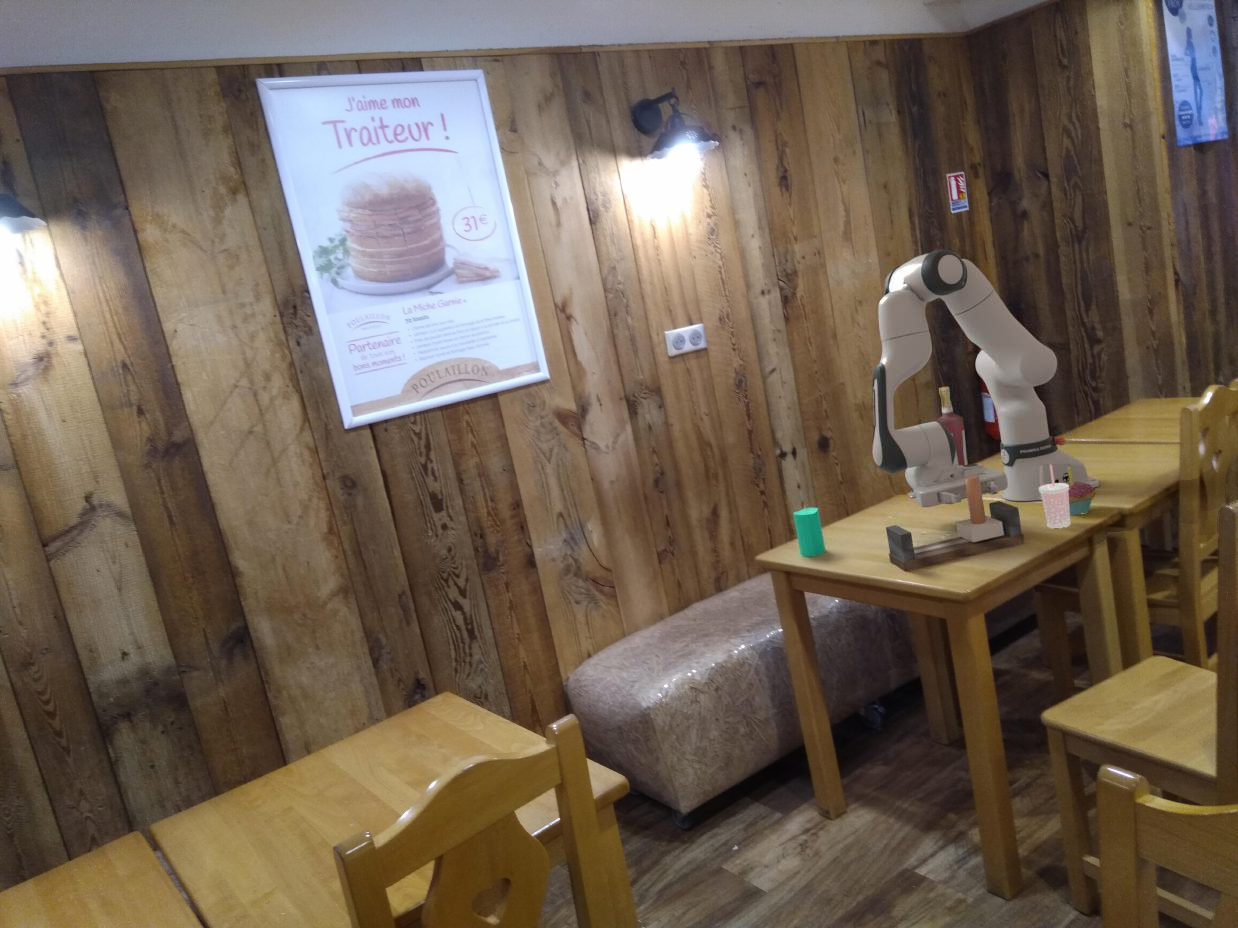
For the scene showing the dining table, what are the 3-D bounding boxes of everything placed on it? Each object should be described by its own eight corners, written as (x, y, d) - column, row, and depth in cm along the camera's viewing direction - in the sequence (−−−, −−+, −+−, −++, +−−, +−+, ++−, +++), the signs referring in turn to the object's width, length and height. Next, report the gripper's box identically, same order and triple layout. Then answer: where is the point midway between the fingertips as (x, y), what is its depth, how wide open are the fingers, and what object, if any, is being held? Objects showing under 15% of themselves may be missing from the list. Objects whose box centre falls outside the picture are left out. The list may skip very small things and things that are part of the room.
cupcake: (1096, 516, 201) (1089, 464, 199) (1054, 518, 206) (1047, 468, 204) (1099, 505, 208) (1092, 455, 206) (1058, 508, 213) (1051, 459, 211)
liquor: (978, 484, 249) (963, 385, 244) (954, 490, 247) (939, 391, 243) (962, 480, 256) (948, 384, 252) (939, 486, 255) (924, 390, 250)
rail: (1005, 534, 202) (1000, 500, 200) (1024, 542, 194) (1019, 507, 192) (890, 561, 200) (884, 527, 199) (904, 571, 192) (898, 535, 191)
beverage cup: (1059, 519, 204) (1051, 460, 202) (1080, 523, 198) (1072, 462, 196) (1037, 526, 202) (1029, 466, 200) (1058, 531, 197) (1050, 469, 194)
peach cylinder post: (987, 528, 200) (979, 472, 198) (1003, 535, 194) (995, 476, 192) (957, 535, 200) (949, 478, 198) (973, 542, 193) (964, 484, 191)
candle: (823, 546, 222) (815, 500, 220) (827, 553, 216) (818, 505, 214) (799, 551, 222) (791, 504, 220) (802, 557, 216) (793, 510, 215)
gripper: (902, 481, 207) (928, 491, 193) (986, 461, 208) (1018, 470, 195) (906, 507, 208) (932, 519, 194) (990, 487, 209) (1022, 498, 196)
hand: (976, 494), depth 194 cm, fingers open, 7 cm apart
